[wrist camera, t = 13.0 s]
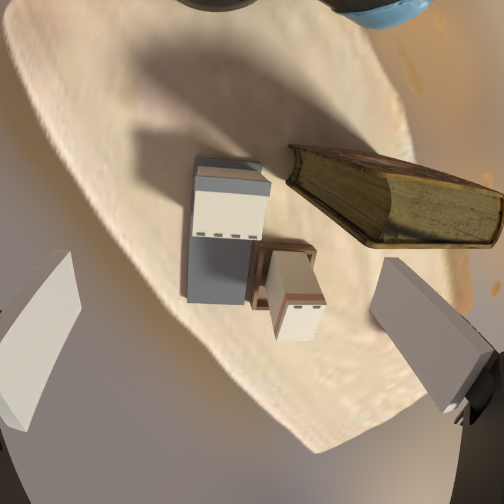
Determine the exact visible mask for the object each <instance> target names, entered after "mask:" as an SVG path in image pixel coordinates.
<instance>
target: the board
mask: <svg viewBox="0 0 504 504" xmlns="http://www.w3.org/2000/svg"><path fill="white" fill-rule="evenodd" d="M198 166H206V167H219V168H231V169H242V170H253V171H258V172H259V173H261V170H262V164H261V163H255V162H245V161H234V160H223V159H210V158H195V167H194V179H193V191H192V205H191V221H190V239H189V260H188V288H187V303H203V304H229V305H244V301H245V294H246V286H247V278H248V270H249V263H250V255H251V247H252V240H247V239H231V238H215V237H198V236H192V233H193V217H194V203H195V191H194V189H195V177H196V175H197V171H198Z"/></svg>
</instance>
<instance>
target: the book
mask: <svg viewBox="0 0 504 504" xmlns="http://www.w3.org/2000/svg"><path fill="white" fill-rule="evenodd" d="M288 147H289V148H292V149H293V151H294V154H295V158H296V163H295V168H294V171H293V173H292V175H291V177H290V178H289V180H286V185H288V186H289V187H290V188H292V189H293V190H294V191H296V192H297V193H298V194H300V195H301V196H302V197H304V198H305V199H306V200H308V201H309V202H310V203H312V204H313V205H314V206H315V207H317V208H318V209H319V210H321V211H322V212H323V213H324V214H326V215H327V216H328V217H329V218H331V219H332V220H333V221H335V222H336V223H337V224H338V225H340V226H341V227H342V228H343V229H344V230H346V231H347V232H348V233H349V234H351V235H352V236H353V237H354V238H356V239H357V240H358V241H359V242H360V243H362V244H363V245H364V246H366V247H369V248H373V249H485V248H486V249H487V248H488V249H489V248H490V249H491V248H492V247H493V246H494V244H495V243H496V242H497V240H498V238H499V236H500V234H501V231H502V228H503V225H504V194H503V193H500V192H498V191H495V190H492V189H490V188H487V187H484V186H482V185H479V184H476V183H473V182H471V181H468V180H465V179H462V178H459V177H456V176H453V175H449V174H447V173H444V172H440V171H437V170H434V169H430V168H427V167H424V166H420V165H417V164H413V163H410V162H406V161H402V160H399V159H395V158H391V157H387V156H383V155H379V154H373V153H366V152H358V151H351V150H343V149H334V148H325V147H315V146H304V145H291V144H288Z"/></svg>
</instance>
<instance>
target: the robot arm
mask: <svg viewBox="0 0 504 504" xmlns="http://www.w3.org/2000/svg"><path fill="white" fill-rule="evenodd" d="M179 1H180V2H182V3H183V4H185V5H187V6H189V7H192V8H195V9H198V10H202V11H209V12H225V11H232V10H237V9H240V8H243V7H246V6H248V5H250V4H252V3H254V2H255V1H257V0H179ZM319 1H320V2H322V3H324V4H325V5H327V6H329V7H330V8H331V10H332V11H334V12H335V13H337V14H339V15H343V16H345V17H347V18H348V19H350V20H352V21H353V22H355V23H356V24H358V25H360V26H362V27H364V28H367V29H375V30H382V29H388V28H392V27H395V26H398V25H400V24H402V23H404V22H406V21H408V20H410V19H412V18H413V17H415V16H417V15H418V14H420V13H421V12H422V11H424V10H425V9H426V8H427V7H428V6H429V2H431V1H433V0H319ZM81 309H82V308H81V304H80V299H79V295H78V290H77V285H76V280H75V275H74V269H73V264H72V258H71V252H70V251H54V252H53V253H52V254H51V255H50V256H49V257H48V258H47V260H45V262H44V263H43V264H42V265H41V266H40V267H39V268H38V269H37V270H36V271H35V273H34V274H33V275H32V276H31V277H30V278H29V279H28V280H27V282H26V283H25V284H24V285H23V286H22V287H21V289H20V290H19V291H18V292H17V293H16V295H15V296H14V297H13V298H12V300H11V301H10V302H9V303H8V304H7V306H6V307H5V308H4V309H3V311H1V310H0V416H1V417H2V419H3V420H4V422H5V423H6V424H7V426H9V427H12V428H15V429H18V430H21V431H24V432H27V430H28V427H29V424H30V422H31V419H32V416H33V413H34V411H35V408H36V406H37V403H38V401H39V398H40V396H41V394H42V391H43V388H44V386H45V384H46V382H47V379H48V377H49V375H50V373H51V370H52V368H53V366H54V364H55V361H56V359H57V357H58V355H59V353H60V351H61V349H62V347H63V345H64V342H65V340H66V338H67V336H68V334H69V332H70V330H71V328H72V326H73V324H74V323H75V320H76V319H77V317H78V315H79V313H80V311H81ZM369 310H370V311H371V313H372V314H373V315H374V317H375V318H376V319H377V321H378V322H379V323H380V325H381V326H382V328H383V329H384V330H385V332H386V333H387V334H388V336H389V337H390V339H391V340H392V341H393V343H394V344H395V346H396V347H397V348H398V350H399V351H400V353H401V354H402V355H403V357H404V358H405V360H406V361H407V363H408V364H409V365H410V367H411V368H412V370H413V371H414V373H415V374H416V376H417V377H418V378H419V380H420V381H421V383H422V384H423V386H424V387H425V389H426V390H427V392H428V393H429V395H430V396H431V398H432V399H433V401H434V402H435V404H436V405H437V407H438V408H439V410H440V412H441V413H442V414H443V413H446V412H449V411H451V410H453V409H456V408H457V407H458V405H459V404H460V403H461V401H462V400H463V399H464V397H466V399H467V400H468V401H469V402H468V403H467V405H466V406H465V407H464V409H463V410H462V411H461V413H460V414H459V415H458V417H457V418H456V419H455V422H454V423H455V424H457V422H458V421H459V420H460V419H461V418H463V417H464V418H463V421H462V422H461V423H460V425H462V426H463V429H462V439H461V446H460V453H459V460H458V466H457V472H456V477H455V482H454V487H453V492H452V496H451V500H450V504H504V352H501V353H500V354H499V353H498V352H497V351H496V350H495V349H494V348H493V347H492V345H491V344H490V343H489V342H488V341H487V340H486V339H485V338H484V337H483V336H482V335H481V334H480V333H479V332H477V330H476V329H475V328H474V327H473V326H471V324H470V323H469V322H468V321H467V320H466V319H465V318H464V317H463V316H462V315H460V314H459V313H458V312H457V311H456V310H455V309H454V308H453V307H452V306H451V305H450V304H449V303H448V302H447V301H445V300H444V299H443V298H442V297H441V296H440V295H439V294H438V293H437V292H436V291H435V290H434V289H433V288H432V287H431V286H429V285H428V284H427V283H426V282H425V281H424V280H423V279H422V278H421V277H420V276H418V275H417V274H416V273H415V272H414V271H413V270H412V269H411V268H410V267H408V266H407V265H406V264H405V263H404V262H403V261H402V260H400V259H399V258H392V257H385V258H384V262H383V266H382V269H381V273H380V276H379V280H378V283H377V287H376V290H375V293H374V297H373V300H372V303H371V306H370V309H369ZM0 504H31V502H30V500H29V499H28V496H27V494H26V492H25V490H24V488H23V486H22V484H21V482H20V479H19V477H18V475H17V472H16V470H15V468H14V465H13V463H12V460H11V457H10V455H9V452H8V449H7V447H6V444H5V441H4V438H3V436H2V432H1V429H0Z"/></svg>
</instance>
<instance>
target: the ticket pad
mask: <svg viewBox="0 0 504 504" xmlns="http://www.w3.org/2000/svg"><path fill="white" fill-rule="evenodd" d="M270 189H271V182H270V181H268V180H267V179H266V178H265V177H264V176H263V175H262V174H261V173H259V172H258V171H253V170H242V169H231V168H219V167H206V166H198V171H197V175H196V177H195V189H194V191H195V203H194V217H193V233H192V236H198V237H215V238H231V239H247V240H261V239H262V232H263V224H264V217H265V210H266V203H267V196H268V197H269V196H270Z"/></svg>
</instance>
